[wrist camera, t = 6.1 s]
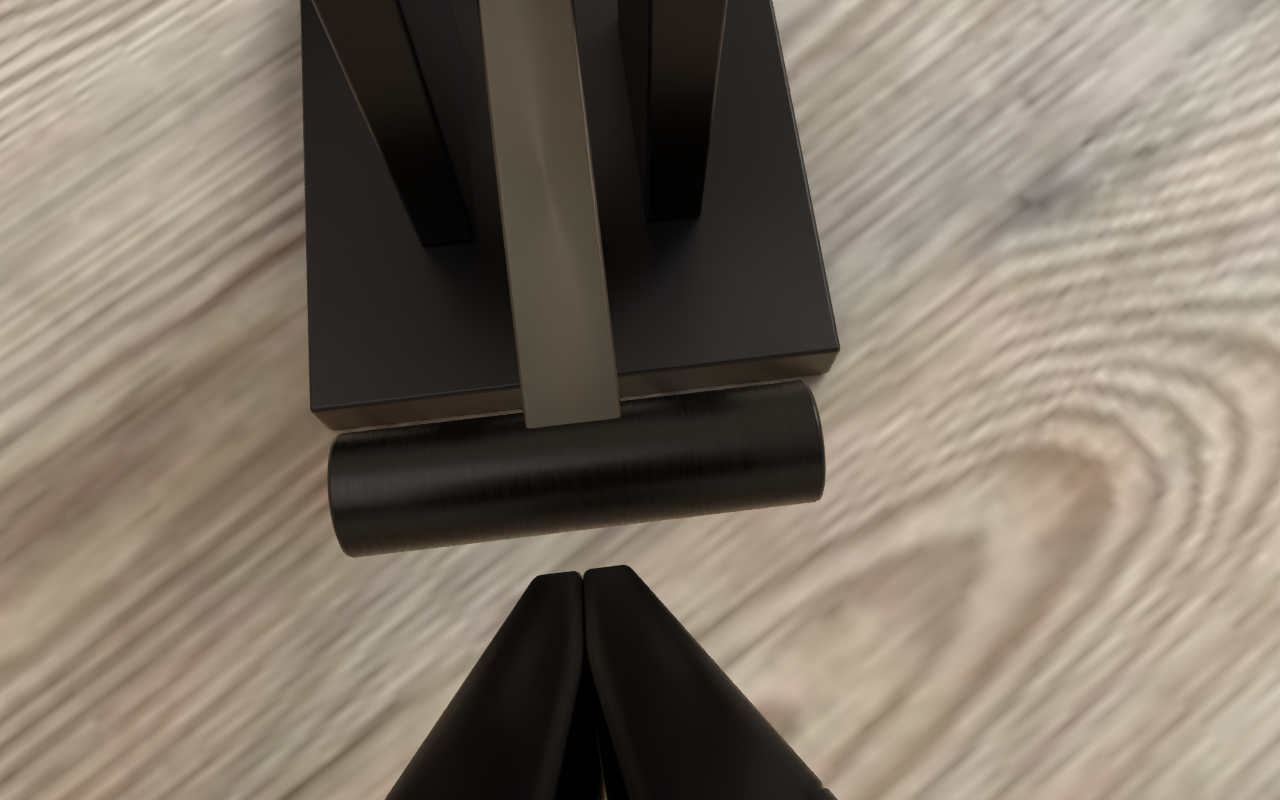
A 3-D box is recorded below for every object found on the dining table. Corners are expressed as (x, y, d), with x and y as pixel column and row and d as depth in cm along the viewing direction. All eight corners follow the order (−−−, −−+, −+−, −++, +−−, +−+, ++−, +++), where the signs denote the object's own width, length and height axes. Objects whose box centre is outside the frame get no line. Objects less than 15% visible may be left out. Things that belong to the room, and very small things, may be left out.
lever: (799, 495, 13) (842, 508, 11) (373, 546, 13) (322, 571, 11) (706, -262, 14) (728, -413, 11) (290, -225, 13) (223, -370, 11)
